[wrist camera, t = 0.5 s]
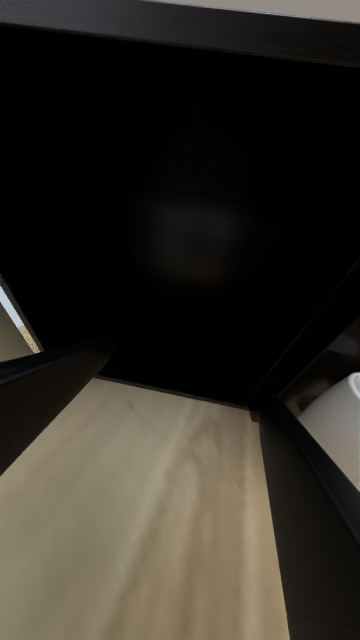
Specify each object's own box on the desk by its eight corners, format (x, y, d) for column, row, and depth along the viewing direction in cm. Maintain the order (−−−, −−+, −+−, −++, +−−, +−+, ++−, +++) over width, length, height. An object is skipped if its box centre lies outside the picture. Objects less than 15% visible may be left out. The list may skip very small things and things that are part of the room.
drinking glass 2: (253, 428, 20) (326, 362, 12) (300, 441, 20) (411, 381, 12) (270, 503, 15) (428, 475, 6) (337, 523, 14) (600, 521, 6)
